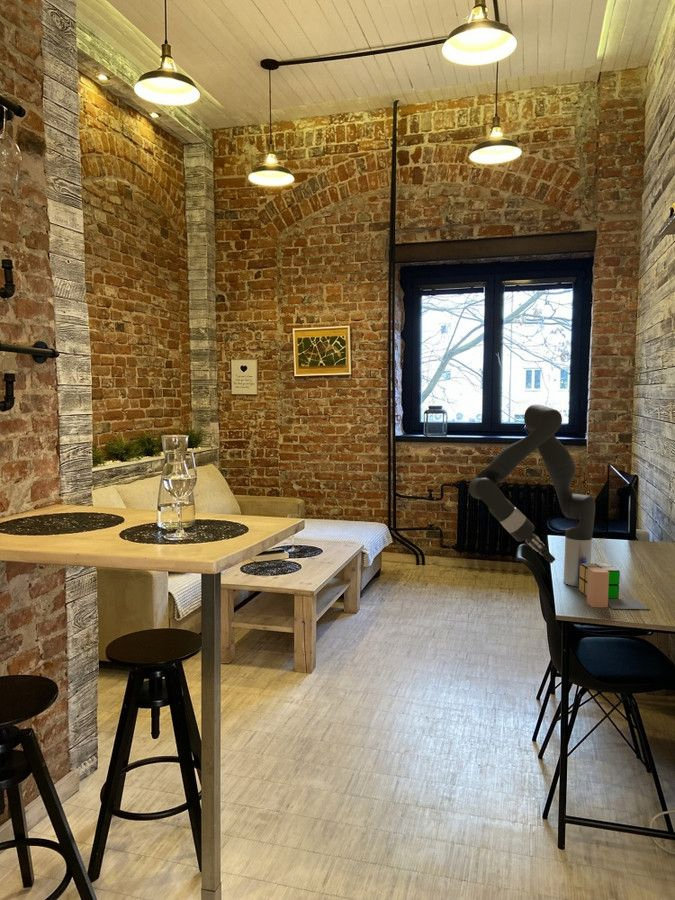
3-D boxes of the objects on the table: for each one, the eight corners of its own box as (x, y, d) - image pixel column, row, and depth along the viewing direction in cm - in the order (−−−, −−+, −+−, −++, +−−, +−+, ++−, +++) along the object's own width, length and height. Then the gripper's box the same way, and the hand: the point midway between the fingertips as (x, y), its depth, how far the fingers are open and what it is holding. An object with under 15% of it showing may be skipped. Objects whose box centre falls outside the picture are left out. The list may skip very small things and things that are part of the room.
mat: (600, 599, 219) (600, 598, 219) (636, 600, 219) (636, 599, 219) (612, 609, 209) (612, 608, 209) (649, 610, 209) (649, 608, 209)
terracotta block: (586, 603, 216) (588, 567, 215) (601, 603, 215) (603, 568, 214) (592, 607, 211) (593, 572, 210) (607, 608, 210) (609, 572, 209)
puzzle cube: (605, 590, 230) (607, 563, 229) (619, 599, 220) (620, 570, 219) (578, 590, 230) (579, 563, 229) (590, 599, 220) (591, 570, 219)
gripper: (530, 519, 205) (567, 558, 205) (519, 512, 218) (555, 548, 218) (513, 536, 205) (550, 574, 206) (503, 527, 218) (538, 563, 219)
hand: (552, 560), depth 212 cm, fingers closed
